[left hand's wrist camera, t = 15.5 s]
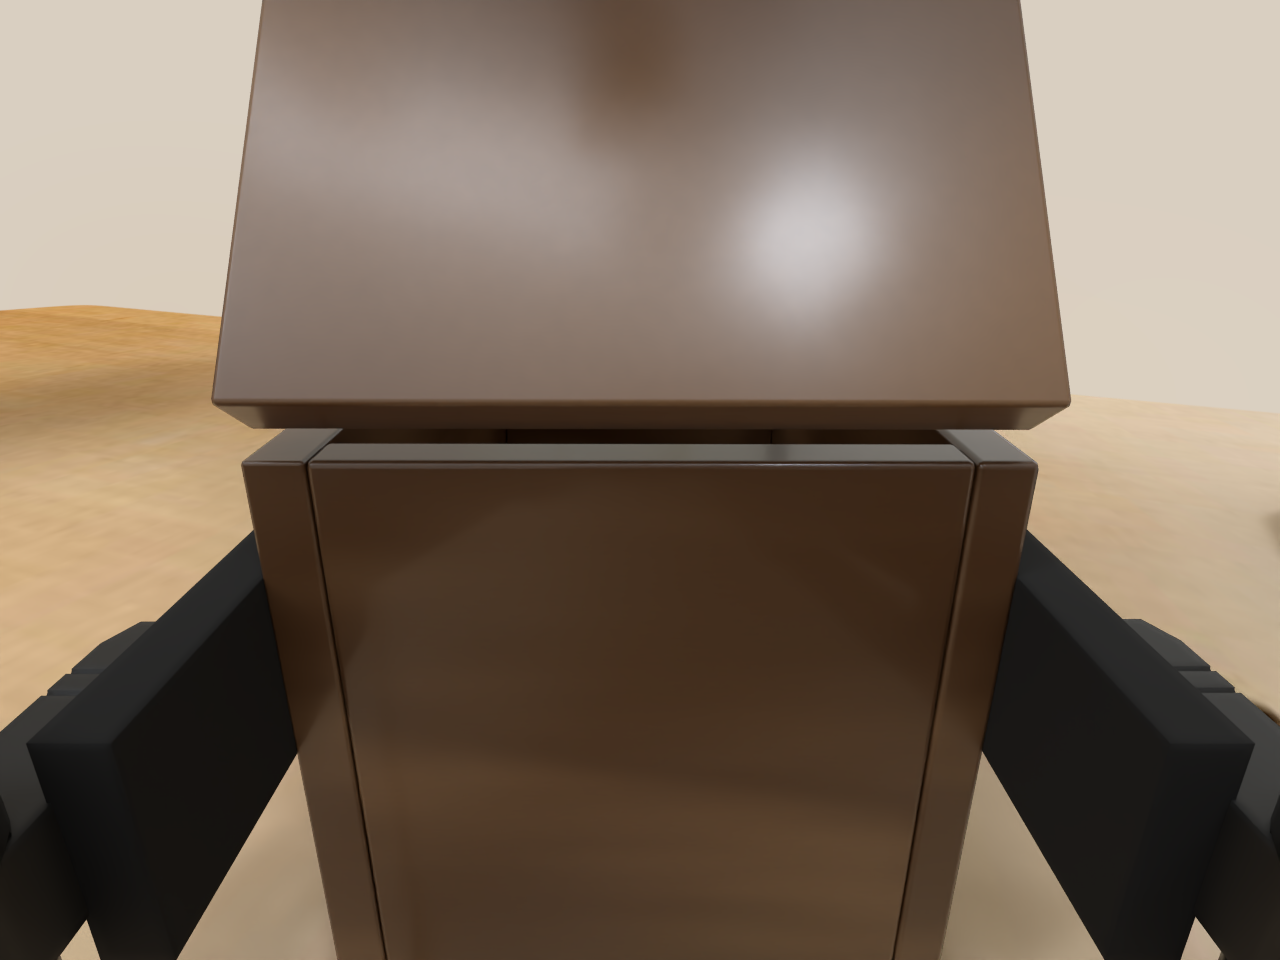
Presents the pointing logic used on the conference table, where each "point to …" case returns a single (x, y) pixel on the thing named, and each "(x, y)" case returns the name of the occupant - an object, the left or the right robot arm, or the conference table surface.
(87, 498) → the conference table surface
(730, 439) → the chest
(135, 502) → the conference table surface
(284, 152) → the lid
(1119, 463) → the conference table surface
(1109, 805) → the left robot arm
